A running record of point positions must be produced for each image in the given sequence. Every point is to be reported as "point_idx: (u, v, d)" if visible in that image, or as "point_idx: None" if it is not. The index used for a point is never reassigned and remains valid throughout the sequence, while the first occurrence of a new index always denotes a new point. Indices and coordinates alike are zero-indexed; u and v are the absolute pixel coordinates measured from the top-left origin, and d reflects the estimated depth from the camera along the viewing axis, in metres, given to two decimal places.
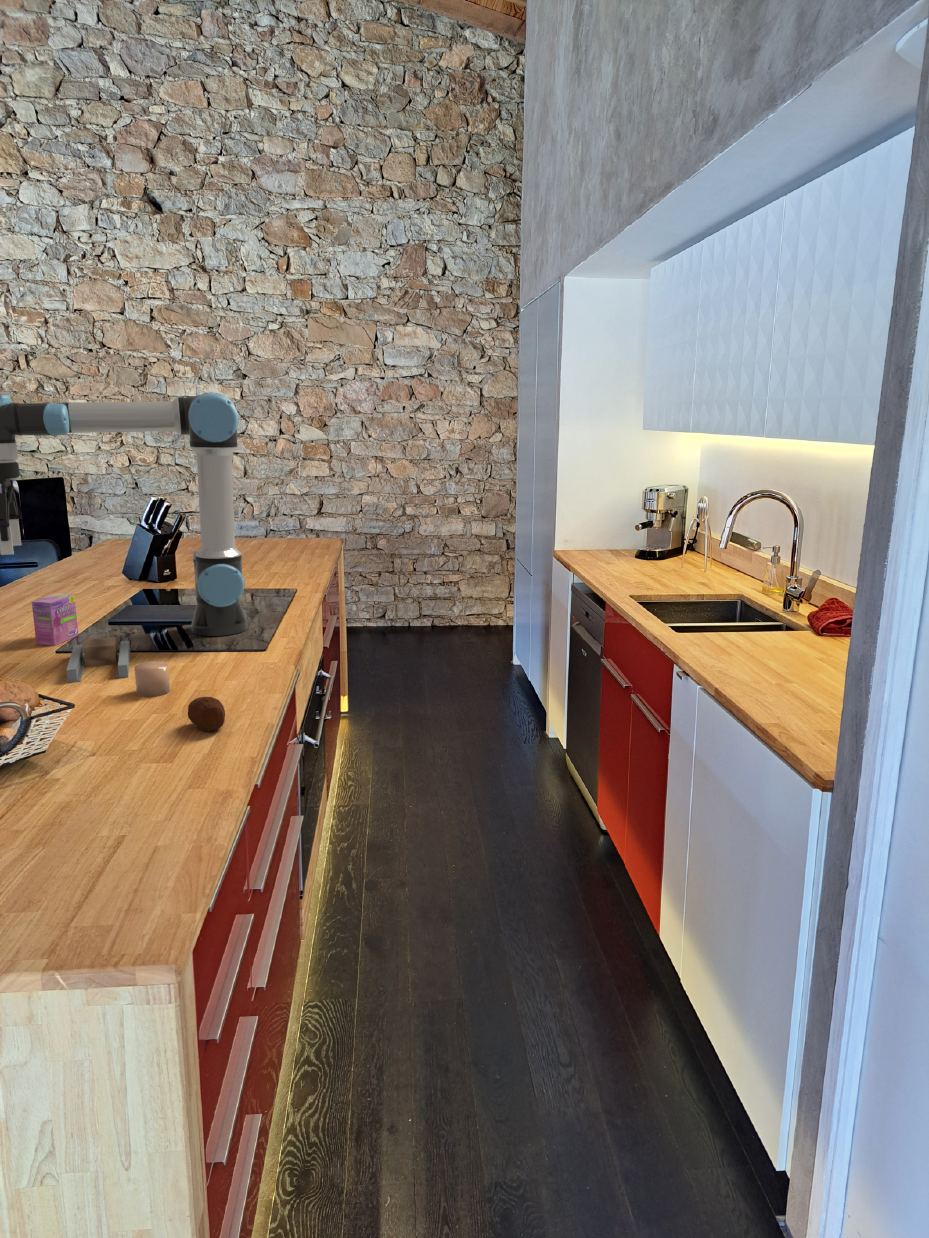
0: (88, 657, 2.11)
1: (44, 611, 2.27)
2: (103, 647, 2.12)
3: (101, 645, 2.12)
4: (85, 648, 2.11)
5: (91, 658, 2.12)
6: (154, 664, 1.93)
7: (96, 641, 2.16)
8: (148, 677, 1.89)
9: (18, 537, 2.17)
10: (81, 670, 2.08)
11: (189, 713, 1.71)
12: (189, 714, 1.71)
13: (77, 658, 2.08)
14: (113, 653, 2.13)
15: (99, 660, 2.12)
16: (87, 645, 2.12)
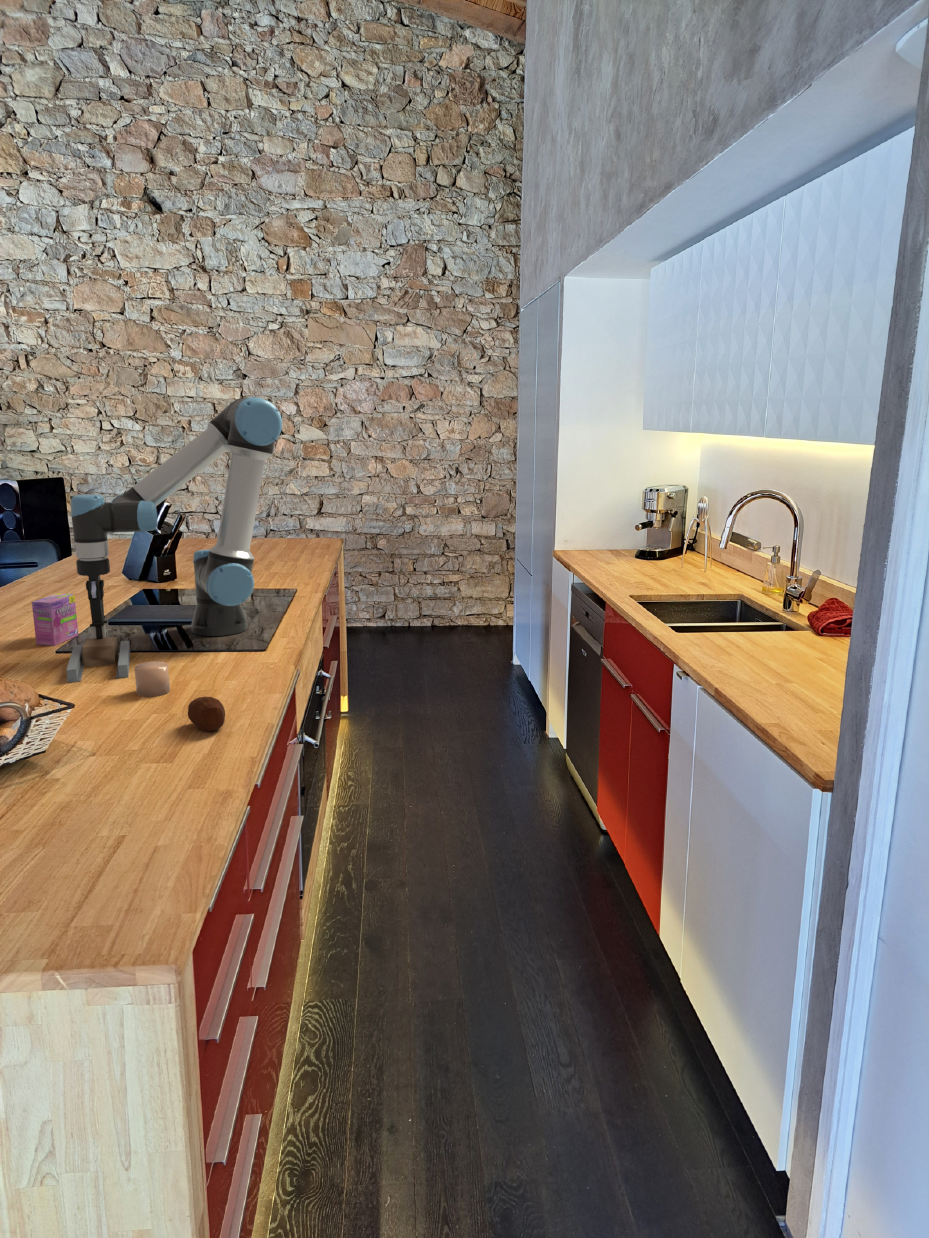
0: (87, 656, 2.11)
1: (43, 611, 2.27)
2: (102, 647, 2.11)
3: (100, 645, 2.12)
4: (84, 648, 2.10)
5: (90, 658, 2.11)
6: (154, 664, 1.93)
7: (96, 641, 2.16)
8: (148, 677, 1.89)
9: None
10: (81, 670, 2.08)
11: (189, 713, 1.71)
12: (189, 714, 1.71)
13: (77, 658, 2.08)
14: (112, 653, 2.12)
15: (98, 660, 2.12)
16: (86, 645, 2.12)
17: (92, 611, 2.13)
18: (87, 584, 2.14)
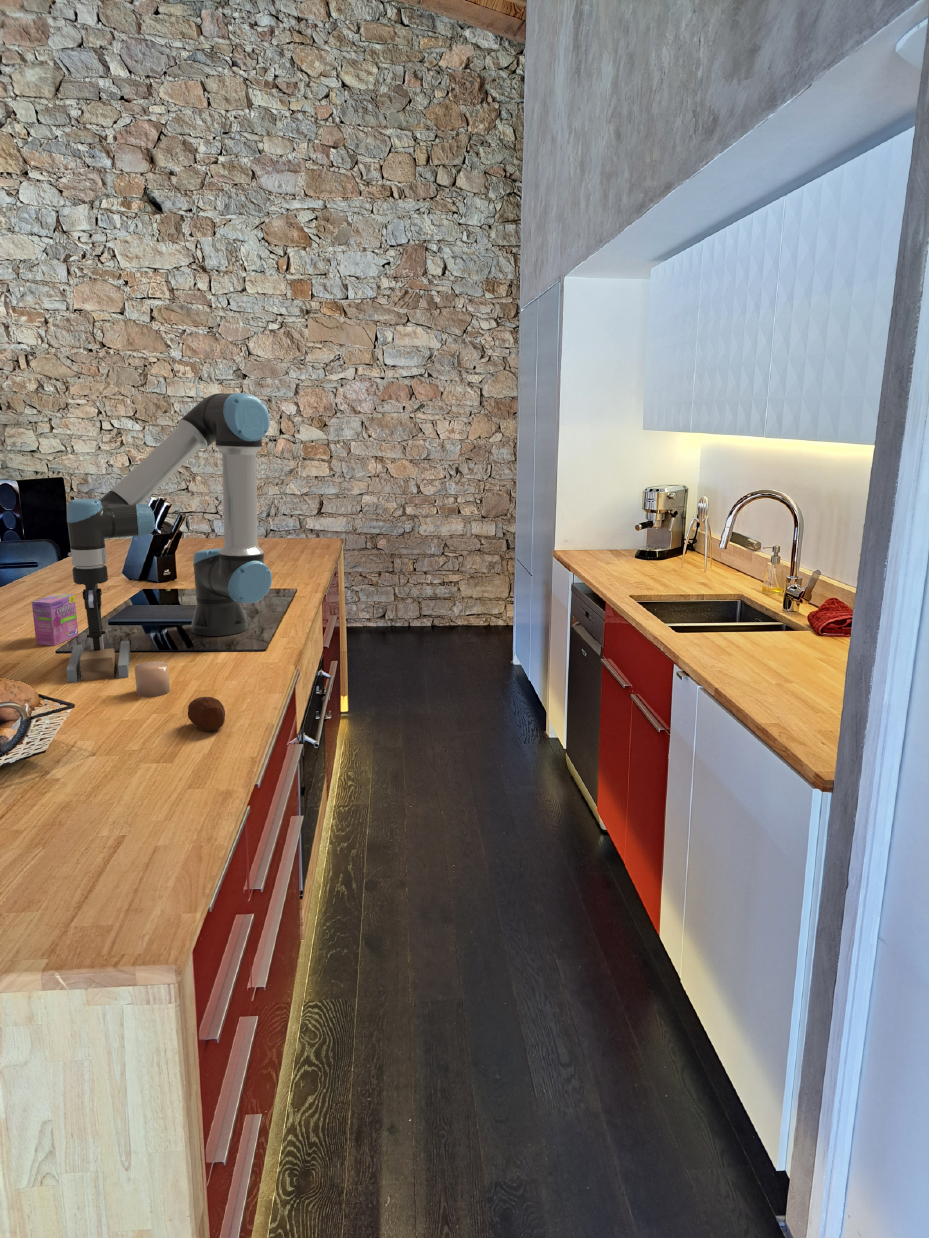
0: (85, 669, 2.01)
1: (43, 611, 2.27)
2: (101, 659, 2.02)
3: (98, 657, 2.02)
4: (81, 660, 2.00)
5: (88, 670, 2.01)
6: (154, 664, 1.93)
7: (93, 652, 2.05)
8: (148, 677, 1.89)
9: None
10: None
11: (189, 713, 1.71)
12: (189, 714, 1.71)
13: (77, 658, 2.08)
14: (111, 665, 2.03)
15: (96, 672, 2.02)
16: (84, 657, 2.02)
17: (89, 622, 2.03)
18: (84, 593, 2.04)
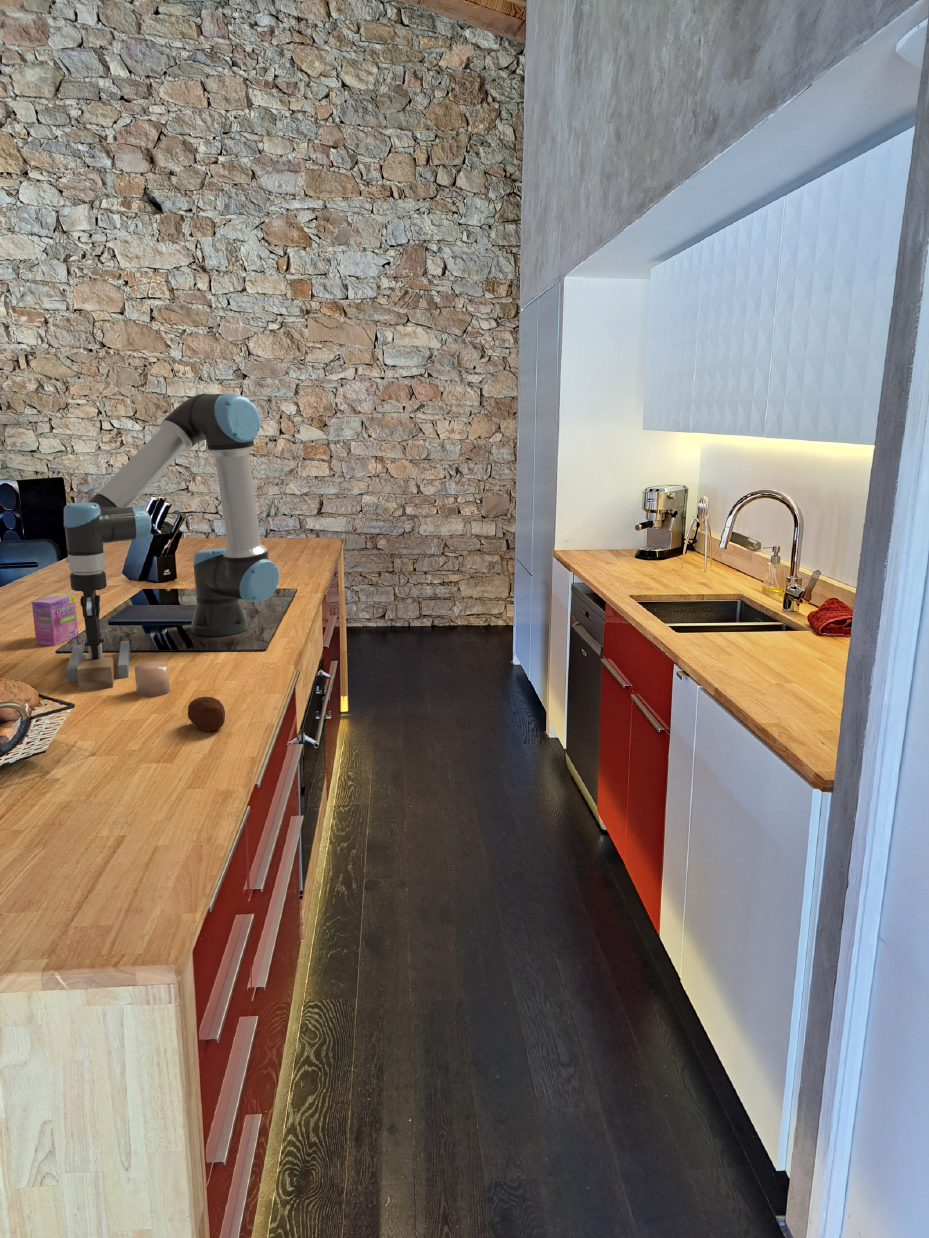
0: (82, 679, 1.94)
1: (44, 611, 2.27)
2: (99, 668, 1.94)
3: (96, 666, 1.95)
4: (79, 670, 1.93)
5: (86, 680, 1.94)
6: (154, 664, 1.93)
7: (91, 662, 1.98)
8: (148, 677, 1.89)
9: None
10: None
11: (189, 713, 1.71)
12: (189, 714, 1.71)
13: (77, 658, 2.08)
14: (109, 675, 1.96)
15: (94, 682, 1.95)
16: (81, 666, 1.95)
17: (87, 630, 1.96)
18: (82, 600, 1.97)
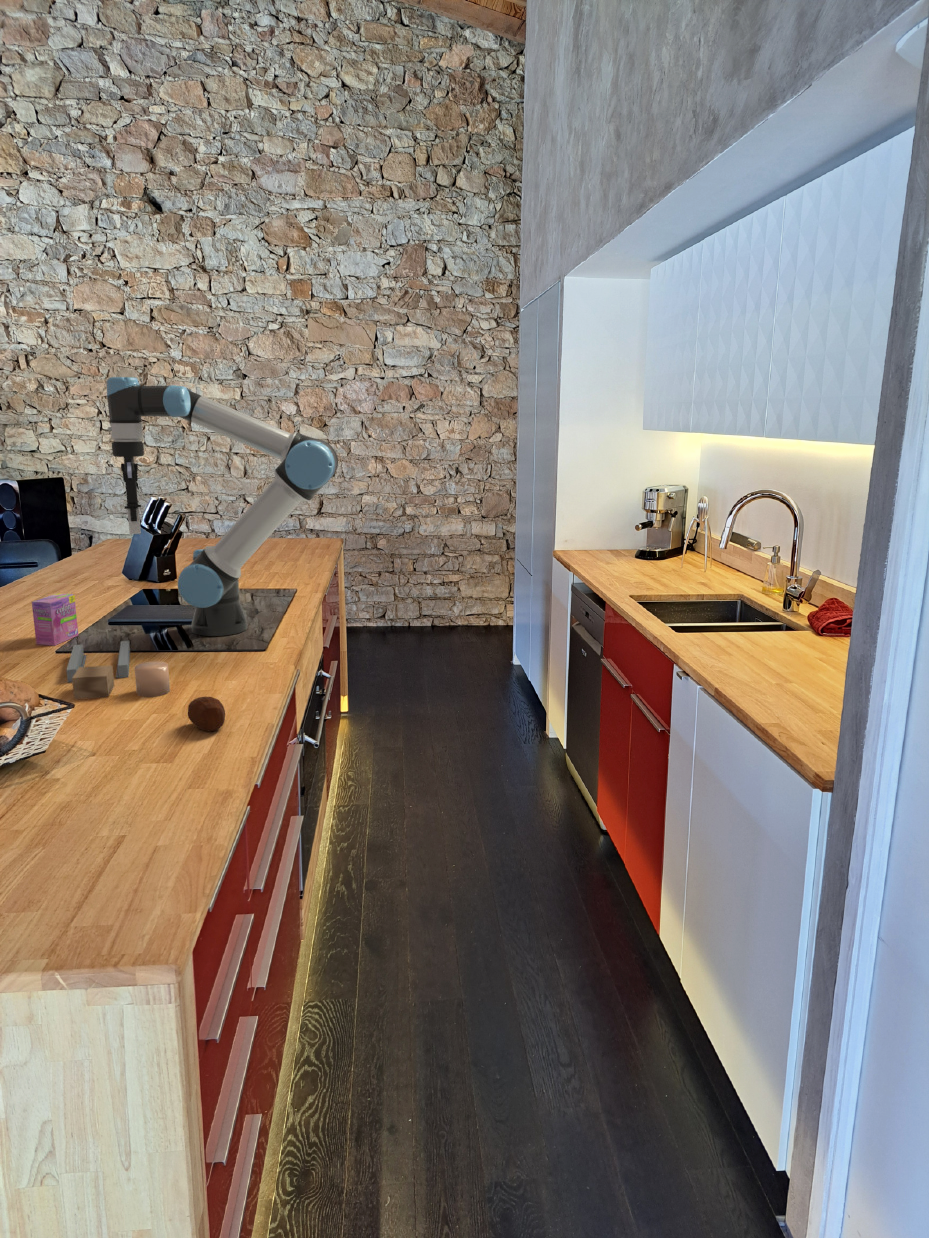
0: (78, 688, 1.88)
1: (43, 611, 2.27)
2: (94, 677, 1.89)
3: (92, 675, 1.89)
4: (74, 678, 1.88)
5: (81, 690, 1.89)
6: (154, 664, 1.93)
7: (89, 670, 1.93)
8: (148, 677, 1.89)
9: None
10: None
11: (189, 713, 1.71)
12: (189, 714, 1.71)
13: (77, 658, 2.08)
14: (105, 685, 1.89)
15: (89, 692, 1.89)
16: (77, 675, 1.89)
17: (127, 492, 2.18)
18: (122, 466, 2.19)
